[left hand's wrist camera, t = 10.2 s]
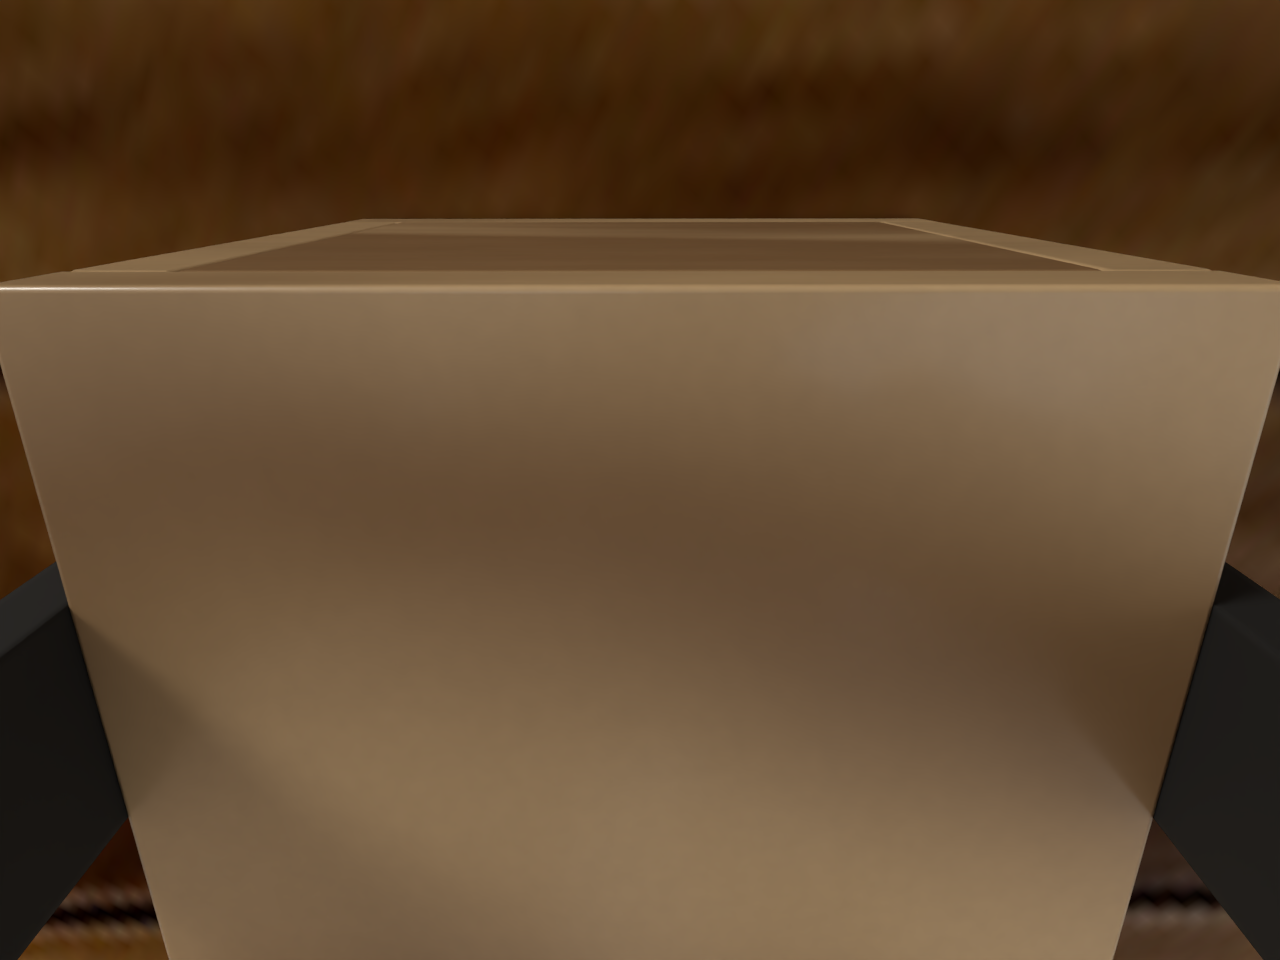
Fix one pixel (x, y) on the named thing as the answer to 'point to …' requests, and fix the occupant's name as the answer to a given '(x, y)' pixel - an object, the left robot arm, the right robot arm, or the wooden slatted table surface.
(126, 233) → the wooden slatted table surface
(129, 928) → the wooden slatted table surface
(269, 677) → the cabinet
